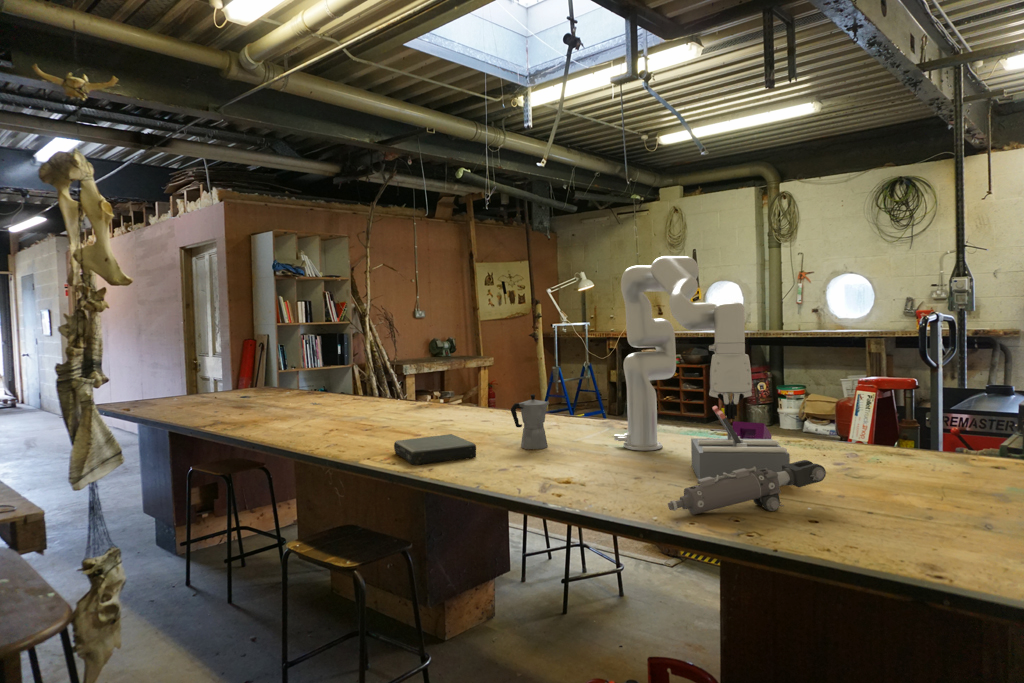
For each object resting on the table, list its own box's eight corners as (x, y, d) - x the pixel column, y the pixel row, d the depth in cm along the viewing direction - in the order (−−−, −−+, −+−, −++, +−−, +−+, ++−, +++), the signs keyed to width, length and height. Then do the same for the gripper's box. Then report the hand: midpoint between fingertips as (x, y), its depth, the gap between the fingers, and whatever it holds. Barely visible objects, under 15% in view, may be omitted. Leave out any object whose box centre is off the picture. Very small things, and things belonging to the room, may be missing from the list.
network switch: (483, 457, 201) (483, 442, 201) (417, 469, 188) (416, 452, 188) (448, 446, 220) (448, 432, 220) (386, 456, 207) (385, 441, 207)
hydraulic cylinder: (832, 497, 140) (825, 454, 140) (680, 537, 135) (672, 492, 134) (811, 488, 148) (805, 447, 147) (666, 526, 142) (659, 483, 141)
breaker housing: (699, 483, 163) (698, 414, 162) (691, 465, 181) (690, 404, 181) (789, 485, 159) (789, 414, 158) (771, 466, 178) (771, 403, 177)
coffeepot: (542, 442, 221) (541, 391, 220) (558, 446, 213) (556, 393, 212) (504, 448, 213) (503, 395, 212) (519, 452, 205) (518, 398, 204)
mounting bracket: (742, 461, 210) (730, 447, 196) (744, 436, 213) (732, 421, 199) (772, 464, 205) (762, 449, 191) (773, 439, 208) (764, 423, 194)
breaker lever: (740, 449, 164) (719, 414, 165) (737, 446, 168) (716, 412, 168) (744, 447, 164) (723, 412, 164) (741, 444, 168) (720, 410, 168)
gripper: (702, 350, 163) (703, 421, 164) (762, 349, 160) (763, 421, 161) (698, 349, 170) (699, 416, 171) (756, 348, 168) (757, 416, 168)
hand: (730, 418), depth 166 cm, fingers closed
